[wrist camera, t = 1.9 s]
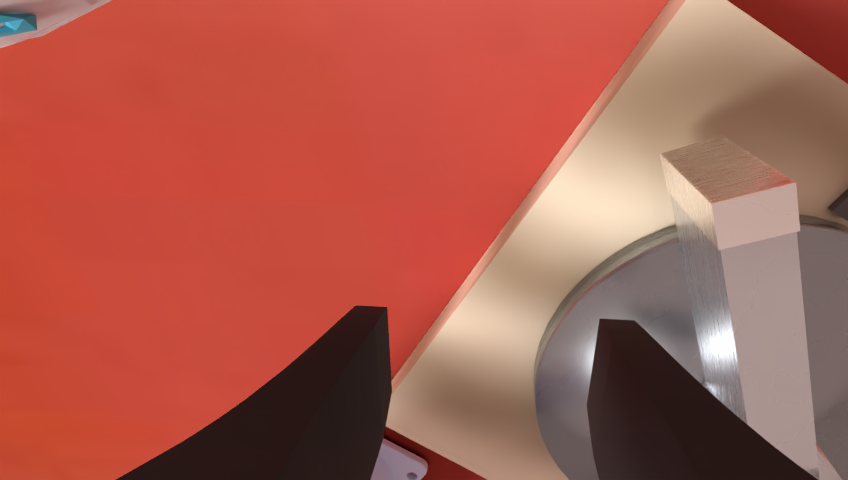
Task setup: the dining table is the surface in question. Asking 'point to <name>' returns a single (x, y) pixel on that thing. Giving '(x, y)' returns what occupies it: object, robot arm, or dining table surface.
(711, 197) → the dial
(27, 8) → the puzzle ball
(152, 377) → the dining table surface
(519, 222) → the stand plate
